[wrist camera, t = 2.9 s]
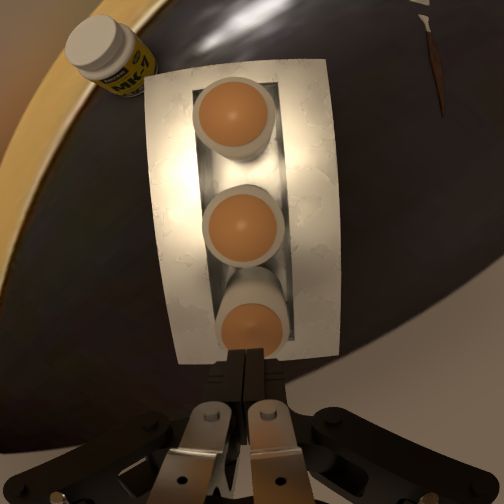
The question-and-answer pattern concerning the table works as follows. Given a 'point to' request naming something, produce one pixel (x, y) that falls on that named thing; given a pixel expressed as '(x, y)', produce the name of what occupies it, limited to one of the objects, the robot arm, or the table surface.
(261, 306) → the knob
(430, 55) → the fork
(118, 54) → the supplement bottle
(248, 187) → the knob
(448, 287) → the table surface
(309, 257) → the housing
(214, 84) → the knob
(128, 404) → the table surface
